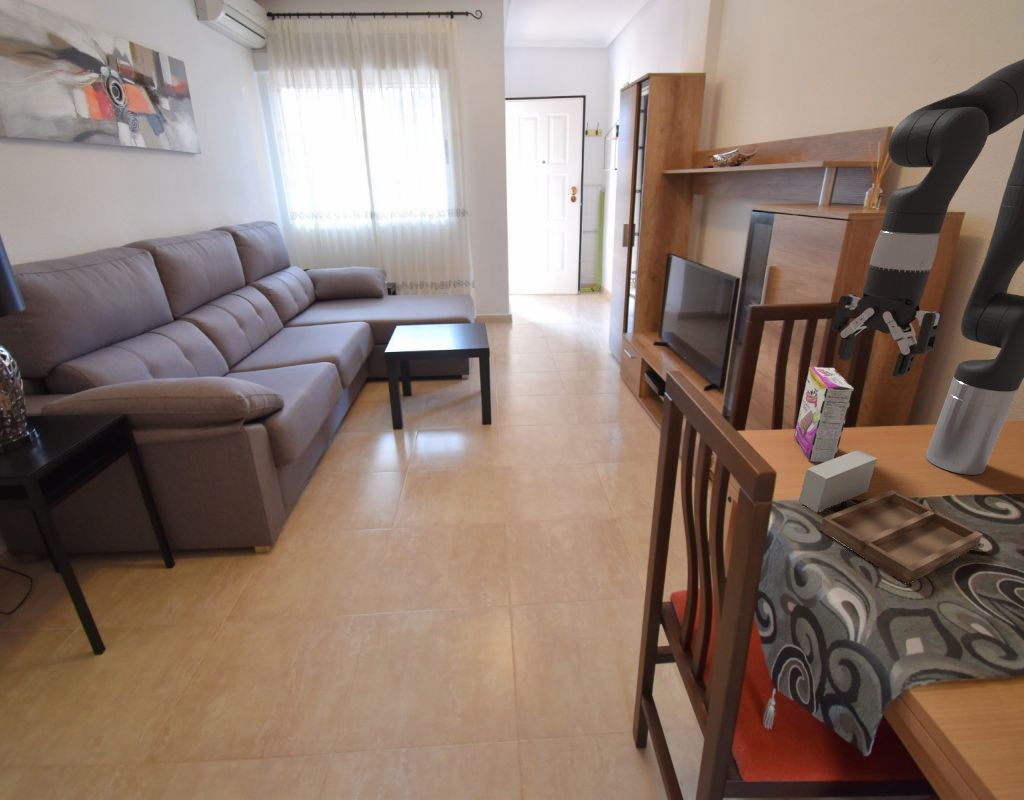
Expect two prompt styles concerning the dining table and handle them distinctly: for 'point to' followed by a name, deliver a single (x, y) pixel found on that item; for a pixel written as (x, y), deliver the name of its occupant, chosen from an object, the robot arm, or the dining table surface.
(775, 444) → the dining table surface
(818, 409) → the candy bar box
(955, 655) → the dining table surface
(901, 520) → the tray
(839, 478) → the light gray rectangular block
